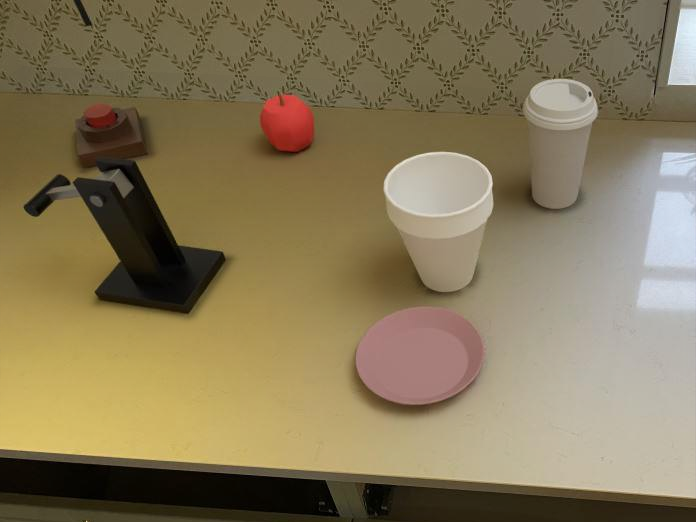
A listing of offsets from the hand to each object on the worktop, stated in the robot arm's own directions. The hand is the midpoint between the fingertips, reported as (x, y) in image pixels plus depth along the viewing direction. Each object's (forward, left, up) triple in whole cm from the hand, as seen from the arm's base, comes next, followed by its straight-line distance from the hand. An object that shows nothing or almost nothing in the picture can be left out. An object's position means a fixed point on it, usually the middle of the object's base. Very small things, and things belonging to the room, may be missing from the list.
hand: (29, 34), depth 80 cm
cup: (+54, -10, -21) cm, 59 cm away
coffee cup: (+65, +9, -21) cm, 69 cm away
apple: (+23, +14, -21) cm, 34 cm away
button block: (-5, +9, -21) cm, 23 cm away
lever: (+15, -18, -9) cm, 25 cm away
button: (-5, +9, -17) cm, 20 cm away
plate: (+55, -25, -21) cm, 64 cm away
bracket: (+19, -18, -21) cm, 34 cm away
